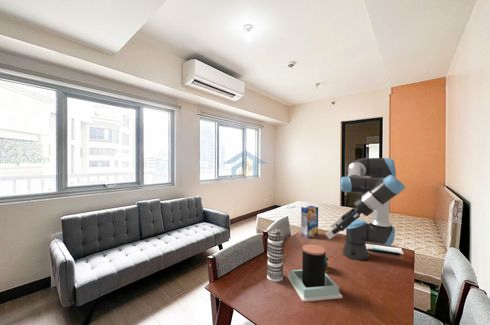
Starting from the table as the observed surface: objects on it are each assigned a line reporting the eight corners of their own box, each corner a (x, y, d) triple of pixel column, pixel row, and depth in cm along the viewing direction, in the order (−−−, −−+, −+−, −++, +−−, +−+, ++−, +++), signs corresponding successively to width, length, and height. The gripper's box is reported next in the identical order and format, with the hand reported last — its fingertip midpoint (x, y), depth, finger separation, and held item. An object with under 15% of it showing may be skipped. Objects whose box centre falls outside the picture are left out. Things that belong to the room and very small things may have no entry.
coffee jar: (328, 284, 102) (328, 248, 102) (319, 294, 94) (319, 255, 94) (307, 276, 109) (308, 242, 109) (298, 285, 101) (298, 248, 101)
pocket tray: (320, 275, 112) (320, 266, 112) (342, 297, 94) (342, 288, 94) (287, 277, 109) (287, 269, 109) (302, 301, 91) (303, 291, 91)
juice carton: (311, 233, 178) (311, 205, 178) (318, 236, 172) (318, 207, 172) (300, 235, 173) (301, 206, 173) (307, 238, 166) (307, 208, 166)
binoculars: (308, 247, 125) (325, 247, 123) (310, 265, 124) (327, 265, 122) (310, 254, 116) (328, 254, 114) (312, 273, 116) (330, 273, 114)
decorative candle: (279, 284, 104) (280, 234, 104) (263, 278, 108) (263, 231, 108) (286, 275, 111) (286, 229, 111) (270, 270, 116) (271, 226, 116)
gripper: (375, 217, 77) (331, 248, 85) (374, 205, 99) (339, 230, 107) (359, 202, 80) (318, 233, 88) (361, 193, 101) (328, 218, 109)
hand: (330, 231), depth 97 cm, fingers open, 13 cm apart
